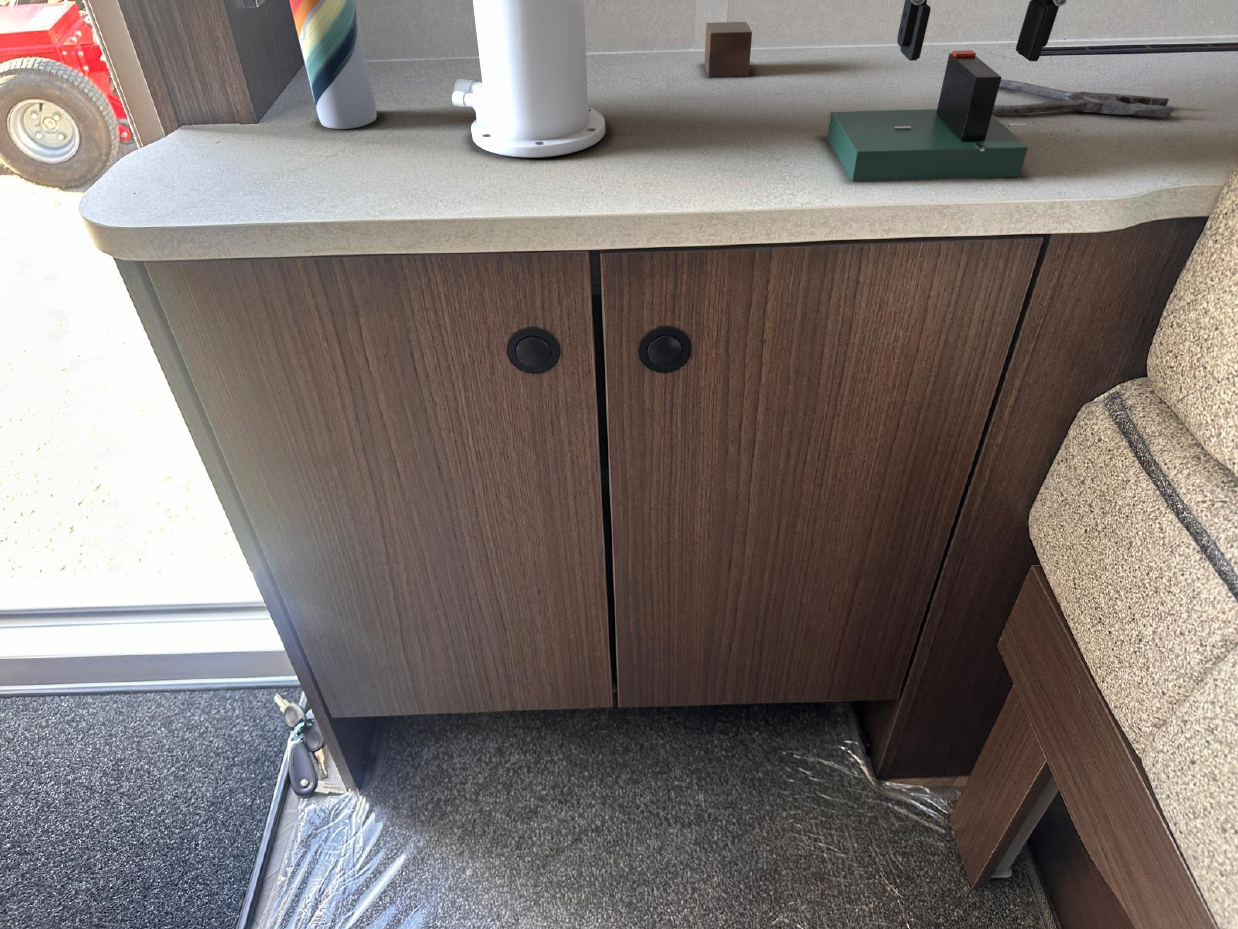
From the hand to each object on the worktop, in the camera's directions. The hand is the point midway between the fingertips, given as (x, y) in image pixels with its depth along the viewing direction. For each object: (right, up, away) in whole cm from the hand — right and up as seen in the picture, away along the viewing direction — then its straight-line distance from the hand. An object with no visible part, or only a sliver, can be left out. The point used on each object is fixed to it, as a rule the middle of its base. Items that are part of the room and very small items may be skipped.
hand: (967, 56), depth 68 cm
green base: (-2, -6, +5) cm, 8 cm away
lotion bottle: (-56, +1, +16) cm, 58 cm away
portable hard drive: (+1, -4, +4) cm, 6 cm away
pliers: (+15, +3, +16) cm, 22 cm away
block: (-16, +11, +26) cm, 33 cm away
